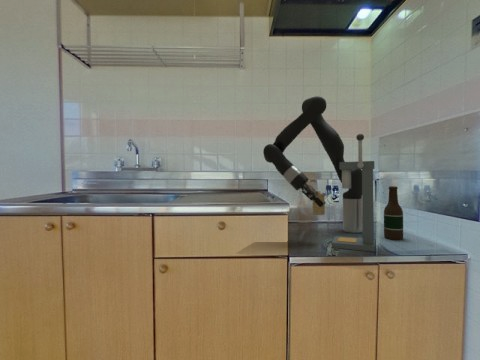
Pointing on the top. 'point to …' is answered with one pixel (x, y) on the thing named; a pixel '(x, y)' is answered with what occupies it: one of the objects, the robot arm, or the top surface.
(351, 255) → the top surface
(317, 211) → the block
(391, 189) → the beer bottle
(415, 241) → the top surface
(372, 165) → the press
